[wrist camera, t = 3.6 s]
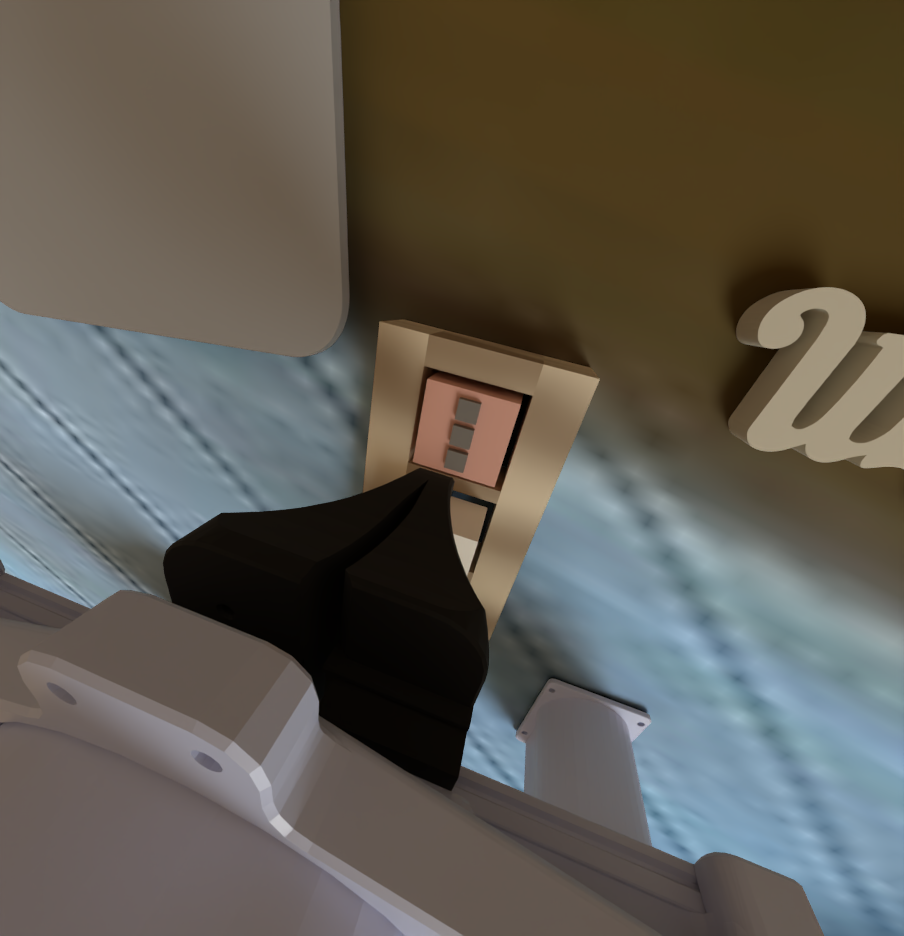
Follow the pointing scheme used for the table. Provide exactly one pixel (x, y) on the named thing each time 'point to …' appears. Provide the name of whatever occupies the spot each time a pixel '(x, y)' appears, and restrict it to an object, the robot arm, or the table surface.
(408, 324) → the button board
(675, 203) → the table surface
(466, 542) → the cream studded block
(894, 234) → the table surface
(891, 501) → the table surface
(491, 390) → the button
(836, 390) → the decorative sign
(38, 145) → the tablet
